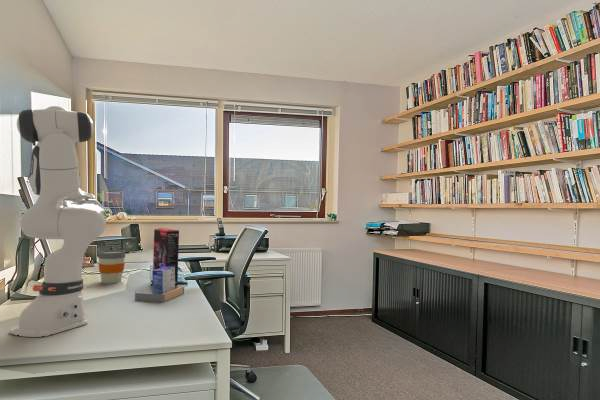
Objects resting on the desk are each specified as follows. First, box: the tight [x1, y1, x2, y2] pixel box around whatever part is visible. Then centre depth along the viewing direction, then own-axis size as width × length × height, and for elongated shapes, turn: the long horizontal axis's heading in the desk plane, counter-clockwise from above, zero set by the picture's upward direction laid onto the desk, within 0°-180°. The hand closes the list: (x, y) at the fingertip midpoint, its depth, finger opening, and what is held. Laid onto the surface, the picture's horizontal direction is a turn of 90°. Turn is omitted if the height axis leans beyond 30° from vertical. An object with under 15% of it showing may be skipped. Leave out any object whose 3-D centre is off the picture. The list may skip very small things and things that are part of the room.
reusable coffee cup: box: [97, 249, 126, 284], centre depth 206 cm, size 13×13×15 cm
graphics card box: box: [152, 227, 180, 286], centre depth 201 cm, size 17×7×27 cm, turn 40°
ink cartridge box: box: [152, 263, 175, 294], centre depth 177 cm, size 10×6×14 cm, turn 167°
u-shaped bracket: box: [134, 285, 185, 303], centre depth 177 cm, size 17×13×3 cm
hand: (94, 223), depth 173 cm, fingers closed
